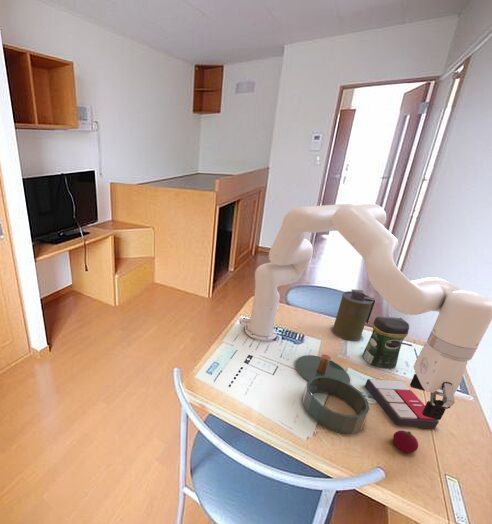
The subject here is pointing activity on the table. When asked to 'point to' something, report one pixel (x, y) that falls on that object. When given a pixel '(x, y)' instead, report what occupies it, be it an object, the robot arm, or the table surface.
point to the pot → (329, 417)
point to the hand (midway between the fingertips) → (423, 401)
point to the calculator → (399, 403)
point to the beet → (405, 441)
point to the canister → (353, 314)
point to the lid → (320, 368)
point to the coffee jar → (385, 342)
